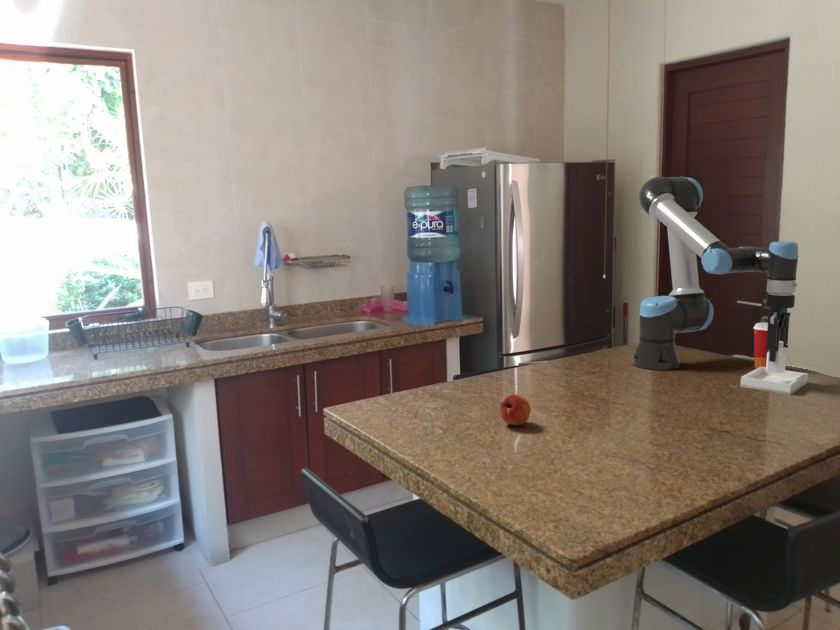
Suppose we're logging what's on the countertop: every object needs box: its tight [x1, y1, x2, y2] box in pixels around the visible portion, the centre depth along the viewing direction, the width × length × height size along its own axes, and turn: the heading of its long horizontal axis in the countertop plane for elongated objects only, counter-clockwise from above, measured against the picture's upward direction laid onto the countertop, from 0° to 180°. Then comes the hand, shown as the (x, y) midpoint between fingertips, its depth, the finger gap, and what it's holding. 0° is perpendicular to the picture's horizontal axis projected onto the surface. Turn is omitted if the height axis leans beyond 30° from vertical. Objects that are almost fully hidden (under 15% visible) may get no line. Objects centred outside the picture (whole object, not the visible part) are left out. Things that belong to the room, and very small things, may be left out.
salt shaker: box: [766, 341, 787, 374], centre depth 201 cm, size 4×4×10 cm
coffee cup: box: [753, 322, 769, 369], centre depth 222 cm, size 8×8×15 cm
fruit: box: [499, 394, 532, 426], centre depth 168 cm, size 8×8×8 cm
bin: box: [740, 367, 809, 396], centre depth 202 cm, size 14×18×3 cm
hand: (775, 369), depth 202 cm, fingers closed on salt shaker, 5 cm apart
